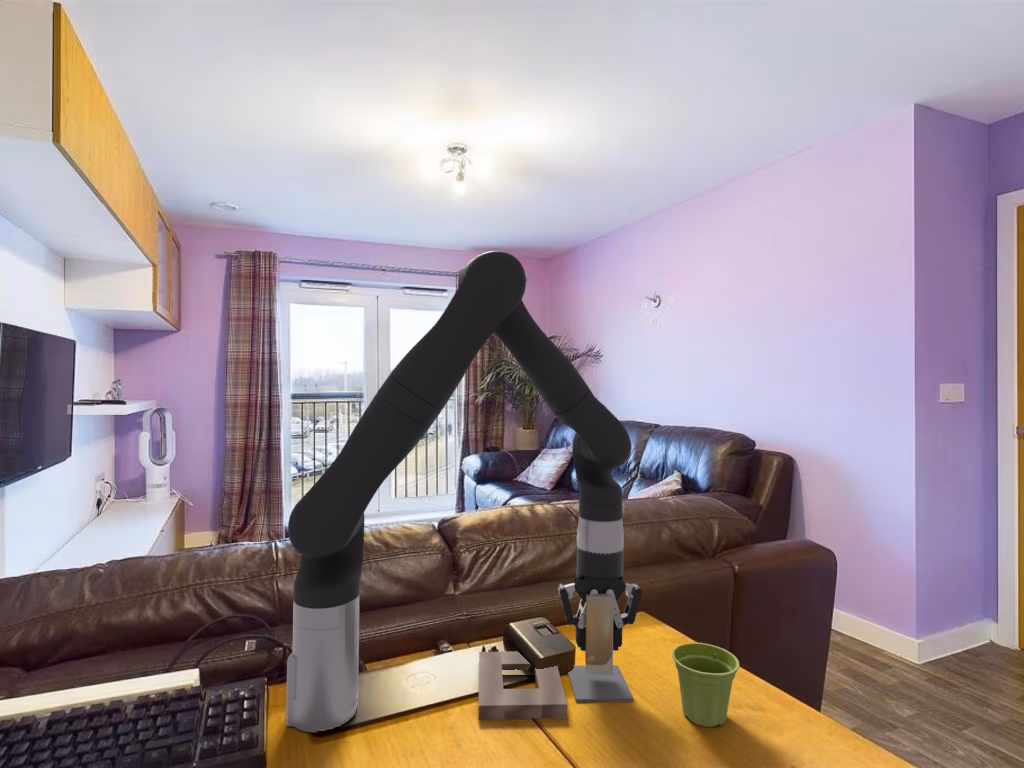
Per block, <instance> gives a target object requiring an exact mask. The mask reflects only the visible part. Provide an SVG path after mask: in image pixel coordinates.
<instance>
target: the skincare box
mask: <svg viewBox="0 0 1024 768" xmlns="http://www.w3.org/2000/svg"><path fill="white" fill-rule="evenodd" d="M585 628H586V651H584V666H585V667H586V673H588V674H601V675H613V665H614V650H613V596H607V595H606V594H598V595H597V596H590V597H589V595H586V625H585Z"/></svg>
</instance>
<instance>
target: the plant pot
mask: <svg viewBox="0 0 1024 768" xmlns="http://www.w3.org/2000/svg"><path fill="white" fill-rule="evenodd" d="M671 658H672V660H673V661H674V663H675V668H676V670H677V676H678V683H679V691H680V699H681V707H682V713H683V714H684V715H685V716H686V718H688V719H689V720H690V722H692V723H694V724H695V725H698V726H701V727H705V728H713V727H716V726H718V725H720V726H723V725H725V724H726V721H727V717H728V712H729V704H730V698H731V693H732V692H731V691H732V686H733V681H734V679H735V677H736V673H737V672H738V671H739V669H740V661H739V659H738V657H736V656H735V655H734V654H733V653H732V652H730V651H728V650H727V649H725V648H722V647H720V646H716V645H713V644H709V643H705V642H704V643H703V642H686V643H681V644H679V645H676V646H675V647H674V648H673V649H672V652H671Z"/></svg>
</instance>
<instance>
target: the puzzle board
mask: <svg viewBox="0 0 1024 768" xmlns="http://www.w3.org/2000/svg"><path fill="white" fill-rule="evenodd" d="M478 654H479V657H478V659H479V660H478V662H479V663H478V670H479V671H478V720H521V719H522V720H526V719H529V720H530V719H531V720H532V719H567V718H568V701H567V697H566V694H565V689H564V685H563V683H562V679H561V675H560V671H559V667H558V665H557V666H554V667H549V668H544V669H536V668H535V677H534V682H535V688H504V680H503V679H504V676H502V670H515V669H517V670H528V669H529V668H530V666H531V664H530V663H529V662H528V661H527V660H526V659H525V658H524V657H523V656H522V655H521V654H520V653H519V652H518V650H517V651H514V650H512V651H479V652H478Z"/></svg>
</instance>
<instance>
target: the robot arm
mask: <svg viewBox="0 0 1024 768" xmlns="http://www.w3.org/2000/svg"><path fill="white" fill-rule="evenodd" d="M458 275H459V277H458V280H457V283H458V284H457V289H456V291H455V293H454V294H453V296H452V298H451V299H450V301H449V302H448V305H447V307H446V308H445V309H444V311H443V313H442V314H441V315H440V317H439V318H438V320H437V321H436V322H435V323H434V325H433V326H432V327H431V328H430V329H429V330H428V331H427V332H426V333H425V334H424V336H422V338H420V339H419V341H417V342H416V343H415V344H414V346H412V347H411V348H410V350H408V352H407V353H406V354H405V355H404V356H403V358H401V360H400V361H399V362H398V363H397V364H396V365H395V367H394V368H393V370H392V371H391V372H390V373H389V375H388V376H387V378H386V379H385V380H384V381H383V383H382V385H381V386H380V387H379V389H378V390H377V392H376V393H375V395H374V397H373V398H371V399H372V400H371V401H370V402H369V404H368V406H367V407H366V409H365V410H364V412H363V414H362V415H361V417H360V418H359V420H358V421H357V423H356V425H355V426H354V428H353V430H352V432H351V434H350V436H349V437H348V439H347V440H346V442H345V443H344V445H343V447H342V449H341V451H340V452H339V453H338V455H337V456H336V458H335V459H334V460H333V462H332V463H331V464H330V465H329V467H328V468H327V469H326V470H325V471H324V472H323V474H322V475H321V476H320V477H319V479H318V480H317V481H316V482H315V483H314V484H313V485H312V486H311V488H310V489H309V490H308V491H306V493H305V494H304V496H302V497H301V499H299V501H297V502H296V504H295V505H294V508H293V509H291V510H292V511H291V513H290V516H289V520H288V523H287V533H288V534H287V535H288V538H289V542H290V544H291V546H292V547H293V549H294V550H295V551H296V552H297V553H299V554H300V561H299V566H298V570H297V573H296V575H295V577H294V579H295V580H294V582H293V593H292V594H293V596H292V597H293V598H292V600H293V602H292V603H293V605H292V608H293V609H292V652H291V653H290V655H289V656H288V658H287V661H286V709H285V710H286V716H285V717H286V718H285V722H286V723H285V725H286V727H294V728H296V729H298V730H299V731H301V732H307V733H318V732H317V730H318V729H326V728H329V727H334V726H336V725H338V724H339V723H342V722H344V720H346V719H347V718H348V717H350V716H351V715H352V714H353V713H354V711H355V710H356V708H357V704H358V703H359V657H360V656H359V655H360V654H359V652H360V649H359V648H360V647H359V646H360V644H359V643H360V641H359V640H360V590H361V589H360V587H361V579H362V573H363V565H364V549H365V547H364V545H365V543H364V542H365V511H366V509H367V508H368V506H369V505H370V503H371V501H372V499H374V498H373V497H374V496H375V494H376V493H377V492H378V490H379V489H380V487H381V485H382V484H383V483H384V481H386V479H387V478H388V477H389V475H391V474H392V472H393V471H394V470H395V469H396V468H397V467H398V466H399V465H400V464H401V463H402V462H403V460H405V459H406V457H407V456H408V455H409V454H410V453H411V452H412V451H413V450H414V448H415V447H416V446H417V444H419V442H420V441H421V440H422V438H424V436H425V435H426V434H427V432H428V431H429V429H430V428H431V427H432V426H433V424H434V422H435V421H436V420H437V418H438V416H440V413H441V412H442V410H443V409H444V408H445V407H446V405H447V404H448V402H449V400H450V399H451V397H452V395H453V394H454V392H455V391H456V390H457V388H458V387H459V384H460V383H461V381H462V380H463V378H464V377H465V375H466V373H467V372H468V370H469V368H470V366H471V364H472V363H473V361H474V359H475V357H476V356H477V355H478V353H479V352H480V350H481V348H483V346H484V345H486V342H487V341H488V340H489V339H490V337H492V335H494V334H495V335H496V337H497V338H498V339H499V340H500V341H501V343H503V345H504V346H505V347H506V348H507V350H508V351H509V353H510V354H511V355H512V356H513V358H514V359H515V360H516V362H517V363H518V364H519V366H520V367H521V369H522V370H523V371H524V373H525V374H526V376H527V377H528V379H529V380H530V382H531V383H532V385H533V386H534V388H535V390H536V391H537V392H538V394H539V395H540V397H541V398H542V400H543V401H544V402H545V403H546V405H547V406H548V408H549V409H550V411H551V413H553V416H555V417H556V419H557V420H558V421H559V422H560V423H562V424H563V425H564V426H567V427H569V428H571V429H572V430H573V431H574V432H575V434H574V436H573V440H572V447H571V450H572V451H571V452H572V459H573V465H574V466H573V467H574V471H575V477H576V480H577V484H578V489H579V495H578V496H579V498H578V521H577V522H578V523H577V530H576V531H577V532H576V539H575V541H576V574H575V575H576V576H575V578H574V580H573V582H572V583H571V582H570V583H567V584H564V583H559V584H558V585H557V589H558V590H557V591H558V594H559V598H560V603H561V606H562V610H563V615H564V618H565V620H566V623H567V625H569V626H571V625H572V626H575V643H576V646H577V648H579V649H580V652H585V651H586V628H585V625H586V595H589V597H590V596H597V595H598V594H606V595H607V596H613V652H614V651H616V652H617V651H619V648H621V647H622V645H623V629H624V626H627V625H634V624H635V621H636V617H637V613H638V610H639V606H640V602H641V598H642V595H643V590H642V589H641V588H640V586H639V585H638V584H637V583H632V584H631V583H627V582H626V581H625V579H624V541H625V540H624V537H625V536H624V525H623V523H624V522H623V489H622V486H621V484H619V482H617V481H616V480H615V479H614V478H613V476H612V472H611V468H612V469H614V468H618V467H621V466H623V465H624V464H626V462H628V461H629V458H630V457H631V454H632V441H631V438H630V434H629V433H628V431H627V429H626V427H625V426H624V425H623V424H622V423H621V420H619V419H618V418H617V417H616V416H615V415H614V414H613V413H612V412H611V410H610V409H608V408H607V407H606V406H605V404H603V403H602V402H601V401H600V400H599V399H598V398H597V397H596V396H595V395H594V393H593V392H592V389H591V388H589V385H588V384H587V382H586V381H585V380H584V378H583V377H582V375H581V374H580V372H579V371H578V369H577V368H576V367H575V365H574V364H573V363H572V362H571V360H570V359H569V358H568V356H567V355H566V354H565V353H563V352H562V350H561V349H560V348H559V347H558V346H557V345H556V344H555V343H554V342H553V341H552V340H551V339H550V338H549V336H548V335H547V334H546V333H545V332H544V331H543V330H542V329H541V327H540V326H539V325H538V323H537V322H536V321H535V319H534V318H533V317H532V315H531V314H530V312H529V310H528V308H527V306H526V305H525V303H524V301H523V297H524V295H525V292H526V288H527V277H526V271H525V269H524V267H523V264H522V263H521V262H520V260H519V259H518V258H517V257H516V256H514V255H513V254H511V253H509V252H506V251H502V250H493V251H492V250H489V251H486V252H483V253H480V254H478V255H476V256H475V257H473V258H472V259H470V260H469V261H468V262H467V263H465V265H463V267H462V269H461V270H460V273H459V274H458ZM574 591H575V592H576V593H577V594H578V595H579V597H580V598H581V599H580V602H579V604H578V609H577V613H576V614H574V613H573V610H572V607H571V603H570V602H571V601H570V600H571V599H572V598H573V597H574V596H573V594H574ZM624 592H625V595H626V596H627V599H626V603H625V607H624V610H623V613H621V611H620V608H619V606H618V601H619V599H620V597H621V596H622V595H623V593H624ZM358 705H359V704H358Z"/></svg>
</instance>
